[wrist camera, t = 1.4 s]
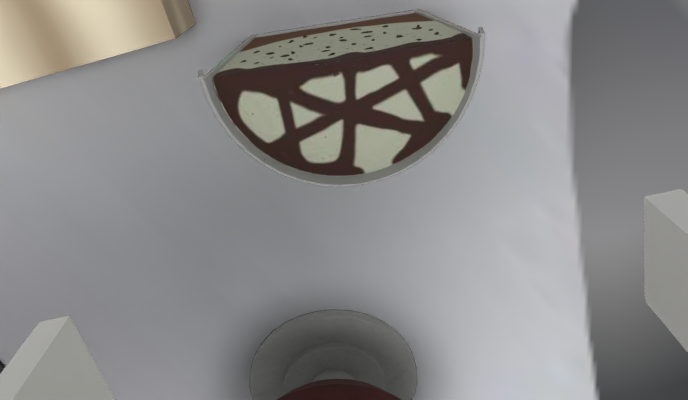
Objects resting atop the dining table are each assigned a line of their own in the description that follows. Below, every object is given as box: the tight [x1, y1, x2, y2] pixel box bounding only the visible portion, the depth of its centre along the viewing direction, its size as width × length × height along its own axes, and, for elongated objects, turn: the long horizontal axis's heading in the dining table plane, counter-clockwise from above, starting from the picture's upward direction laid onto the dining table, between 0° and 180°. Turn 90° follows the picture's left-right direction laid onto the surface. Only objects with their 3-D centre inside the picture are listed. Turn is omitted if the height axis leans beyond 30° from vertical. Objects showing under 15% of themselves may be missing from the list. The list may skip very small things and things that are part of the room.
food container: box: [198, 9, 485, 187], centre depth 29 cm, size 12×6×10 cm, turn 98°
